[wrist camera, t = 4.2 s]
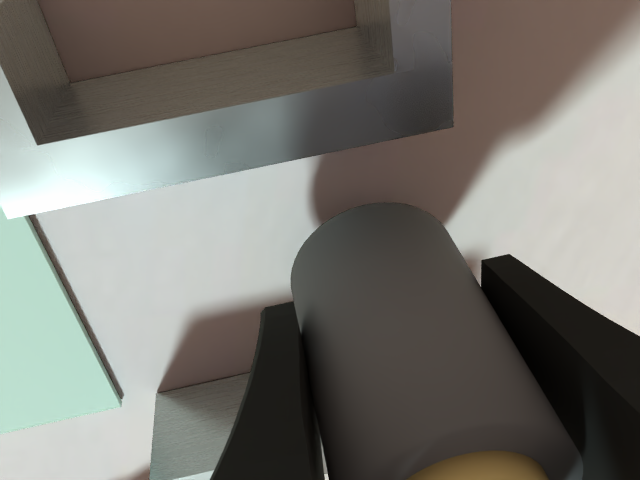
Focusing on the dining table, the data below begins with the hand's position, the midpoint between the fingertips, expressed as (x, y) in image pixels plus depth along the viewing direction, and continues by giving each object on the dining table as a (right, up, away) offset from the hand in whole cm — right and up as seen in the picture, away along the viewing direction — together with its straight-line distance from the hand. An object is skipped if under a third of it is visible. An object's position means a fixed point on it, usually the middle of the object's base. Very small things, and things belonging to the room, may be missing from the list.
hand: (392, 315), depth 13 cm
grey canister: (0, +1, +1) cm, 2 cm away
